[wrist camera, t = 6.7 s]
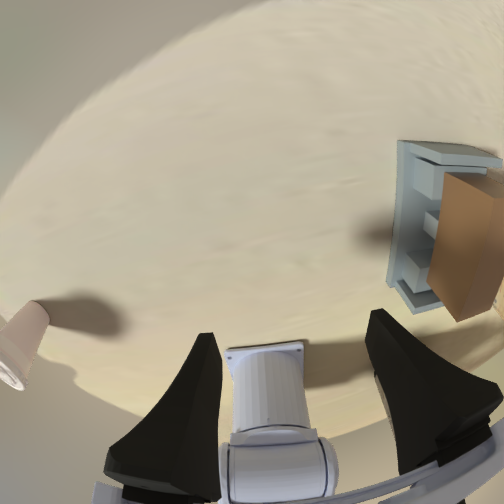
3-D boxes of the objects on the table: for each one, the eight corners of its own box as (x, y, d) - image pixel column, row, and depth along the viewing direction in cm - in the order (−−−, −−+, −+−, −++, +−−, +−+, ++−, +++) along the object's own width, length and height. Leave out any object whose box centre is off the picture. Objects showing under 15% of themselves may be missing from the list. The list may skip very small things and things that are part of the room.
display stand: (448, 268, 22) (474, 296, 18) (385, 281, 23) (408, 316, 19) (467, 145, 16) (505, 159, 12) (397, 140, 17) (435, 153, 12)
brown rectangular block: (458, 273, 18) (490, 309, 14) (425, 281, 19) (456, 322, 14) (479, 172, 14) (525, 197, 10) (444, 171, 14) (493, 198, 10)
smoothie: (25, 282, 22) (-40, 373, 10) (65, 319, 25) (13, 419, 12) (15, 307, 24) (-35, 386, 12) (51, 339, 26) (9, 424, 14)
